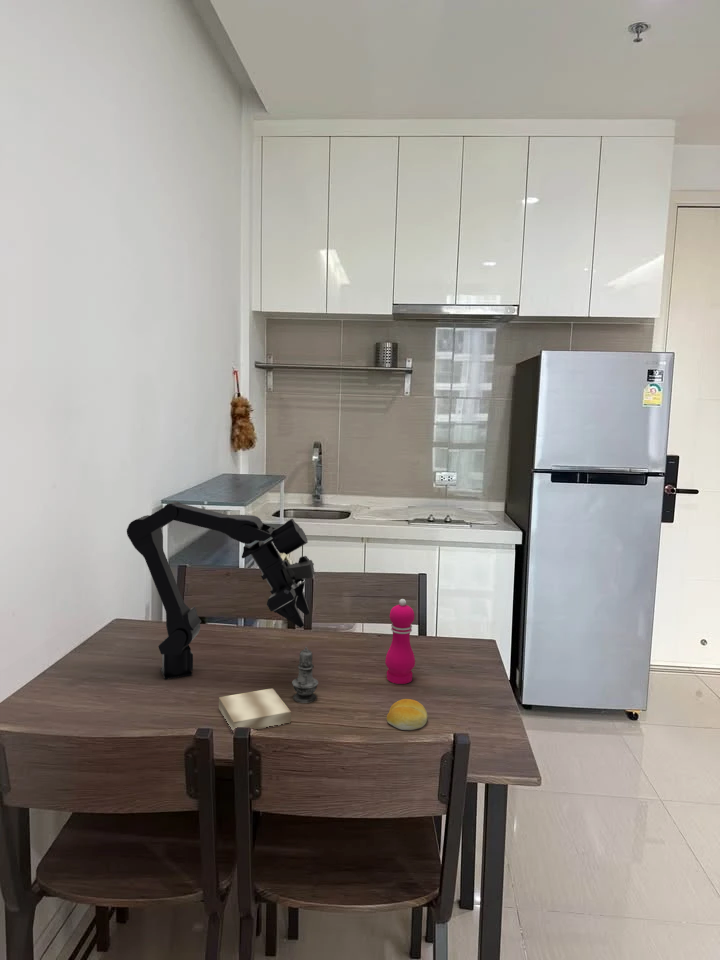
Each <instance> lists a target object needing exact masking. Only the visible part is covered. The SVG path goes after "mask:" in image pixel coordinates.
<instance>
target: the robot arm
mask: <svg viewBox="0 0 720 960" xmlns="http://www.w3.org/2000/svg"><path fill="white" fill-rule="evenodd" d="M173 521H174V522H175V521H176V522H179V523H183V524H184V523H185V524H188V525H192V526H195V527H200V528H204V529H207V530H212V531H216V532H219V533H222V534H224V535H225V536H227V537H229V538H230V539H233V540H235V541H236V542H237V541H238V542H240V543H241V544H244V546H243V548H242V553H241V558H242V559H246V558H247V557H249V556H251V557H252V559H253V561H254V562H255V564H256V565H257V567H258V569H259V570H260V572H261V576H260V577H261V579H262V580H263V581H264V580H265V581H266V582H267V584H268V585H269V587H270V589H271V590H270V593H271V595H270V596H269V598H268V599H267V603H266V607H267V608H268V609H269V611H270V612H273V613H276V614H278V615H279V616H281V617H282V618H284V619H286V620H288V621H289V622H291V623H293V624H294V625H296V626H297V627H299V629H300V628H302V627H304V626H305V623H304V620H303V618H302V615H301V614H300V613H303V614H304V616H307V615H309V614H311V613H310V609H309V606H308V602H307V599H306V596H305V595H306V594H305V591H304V590H305V585H306V582H307V581H306V579H307V580H308V579H311V578H314V575H315V574H316V573H315V568H314V565H315V564H314V562H313V560H312V559H309V557H308V556H306V555H304V556H300V557H299V560H298V562H295V563H292V564H291V563H289V562H288V560H286V559H284V560H283V558H282V557H281V555H280V554H284V555H290V554H291V553H292V552H294V551H296V550H298V549H299V548H301V547H303V546H304V545H306V544H308V543H309V542H308V538H307V535H306V533H305V531H304V529H303V528H301V527H300V525H299V524H298V523H297V522H295V520H294V519H293V518H290V519H289V520H287V521H286V522H285V523H283V524H281V525H280V526H278V527H274V526H272V525H268V524H266V523H264V522H263V521H262V519H261V518H260V517H258V516H256V515H251V514H250V515H249V514H248V515H247V514H226V513H221V512H219V511H213V510H209V509H206V508H201V507H196V506H192V505H188V504H184V503H182V502H179V501H176V500H175V501H172V502H169V503H166V504H165V505H164V506H163V507H162V508H161V509H159V510H157V511H155V512H154V513H152V514H149V515H143V516H140V517H138V518H136V519H133V520H132V521H131V522H130V523H129V524H128V526H127V528H126V535H127V538H128V539H129V541H130V542H131V544H132V546H133V547H134V549H135V550H136V551H137V552H138V553H140V555H141V556H142V557H143V558H144V560H145V563H146V566H147V568H148V571H149V573H150V575H151V578H152V580H153V583H154V585H155V588H156V591H157V593H158V595H159V598H160V600H161V603H162V606H163V608H164V610H165V611H164V612H165V625H166V633H167V637H165V639H164V640H163V641H161V643H160V644H158V650H159V651H160V655H161V667H160V671H161V674H162V677H163V679H164V680H171V679H177V678H178V679H179V678H183V677H192V676H193V672H192V671H193V669H194V654H193V652H192V649H191V647H190V644H191V643H192V642H193V640H194V639H195V638H196V637H197V635H199V633H200V630H201V623H202V619H201V618H200V617H199V616H198V611H197V608H196V606H193V607H191V608H190V607H189V606H188V605H186V603H185V601H184V599H183V597H182V594H181V592H180V589H179V586H178V584H177V582H176V578H175V576H174V574H173V570H172V569H171V567H170V564H169V561H168V559H167V555H166V553H165V552H164V551H165V550H164V535H163V530H162V529H163V527H165V526H167V525H168V524H170V523H172V522H173ZM266 540H267V541H266ZM264 541H265V542H264ZM254 542H255V543H254ZM252 543H253V544H252ZM248 544H249V545H248ZM250 544H252V545H250Z"/></svg>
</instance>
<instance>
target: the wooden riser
mask: <svg viewBox="0 0 720 960" xmlns="http://www.w3.org/2000/svg"><path fill="white" fill-rule="evenodd" d="M218 710H219V711H220V713H221V715H222V716H224V717H223V719H224V720H225V719H226V720H225V722H226V721H227V722H226V723H228V724H229V725H228V724H227V725H228V727H229V726H230V727H231V729H232V730H234V729H235V728H237V727H250V728H254V729H258V730H262V729H266V727H268V728H270V727H269V726H273V727H275V726H274V725H278V726H282V725H281V724H283V725H285V724H284V723H289V724H291V723H290V722H292V711H291V710H290V708H288V706H287V705H286V704H285V702H284V701H283V700H282V697H280V696H279V694H278V693H277V692H276V690H275V689H274V688H267V689H260V690H254V691H248V692H243V693H236V694H231V695H230V694H229V695H225V696H220V697H218ZM230 727H229V728H230ZM231 729H230V730H231Z"/></svg>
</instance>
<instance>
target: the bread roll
mask: <svg viewBox="0 0 720 960" xmlns="http://www.w3.org/2000/svg"><path fill="white" fill-rule="evenodd" d="M427 720H428V712H427V709H426V708H425V706H424V705H423V704H422V703H420V702H419V701H417V700H415V699H410V698H402V699H399V700H398V701H395V702H394V703H392V705H391V706H390V708H389V712H388V713H387V715H386V721H387V724H390V726H392V727H394V728H396V729H398V730H402V731H413V730H418V729H421V728H423V727H425V725H426V724H427V722H428V721H427Z"/></svg>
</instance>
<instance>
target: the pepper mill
mask: <svg viewBox="0 0 720 960" xmlns="http://www.w3.org/2000/svg"><path fill="white" fill-rule="evenodd" d="M389 620H390V622H391V623H392V624H391V629H390V630H391V632H392V637H391V638H392V639H391V644H390V646H389V649H388V650H387V653H386V654H385V655H386V656H385V666H386V667H387V670H386V680H388V682H390V683H391V684H397V685H405V684H409V683H411V682H412V681H413V674H414V673H413V672H412V670H413V669H414V667H416V666H415V665H416V660H415V659H416V658H415V654H414V651H413V648H412V645H411V637H410V636H411V635H410V634H411V633H412V631H413V629H412V627H413V626H412V624H413V622H414V621H415V612H414V610H413V608H412V607H411V606H410V605H408V604H407V601H406V599H404V598H401V599H399V600H398V604H396V605H394V606H393V607H391V609H390V613H389Z"/></svg>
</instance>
